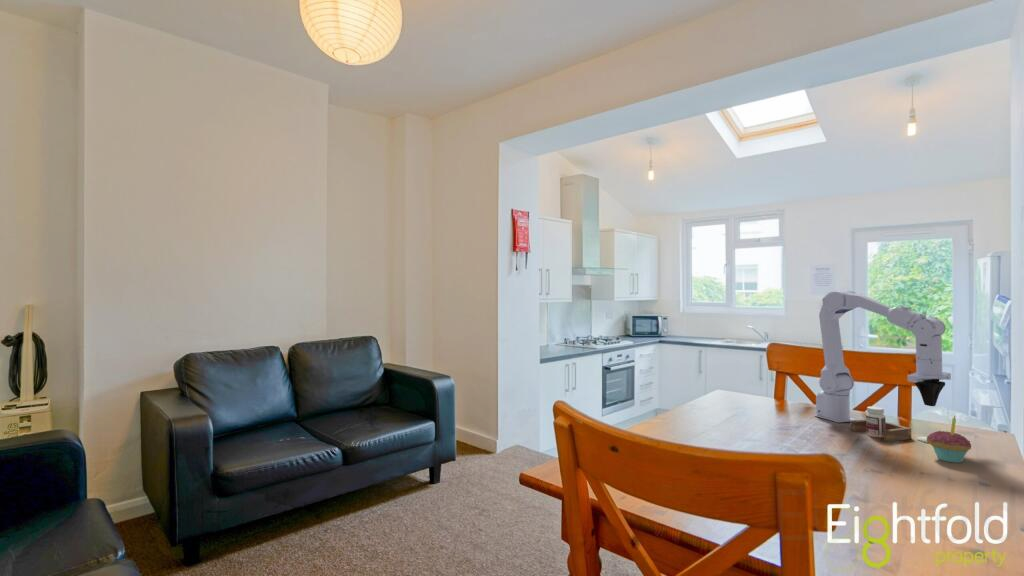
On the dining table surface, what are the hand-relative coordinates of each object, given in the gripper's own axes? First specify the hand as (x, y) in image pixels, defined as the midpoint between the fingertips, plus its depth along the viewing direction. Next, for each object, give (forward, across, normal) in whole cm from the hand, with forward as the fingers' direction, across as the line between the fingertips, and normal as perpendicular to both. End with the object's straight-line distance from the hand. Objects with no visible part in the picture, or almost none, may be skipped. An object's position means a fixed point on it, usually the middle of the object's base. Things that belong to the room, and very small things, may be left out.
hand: (929, 405), depth 138 cm
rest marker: (+10, 0, 0) cm, 10 cm away
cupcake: (+11, -12, -12) cm, 20 cm away
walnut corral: (+10, -8, +9) cm, 16 cm away
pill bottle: (+11, -9, +9) cm, 17 cm away
